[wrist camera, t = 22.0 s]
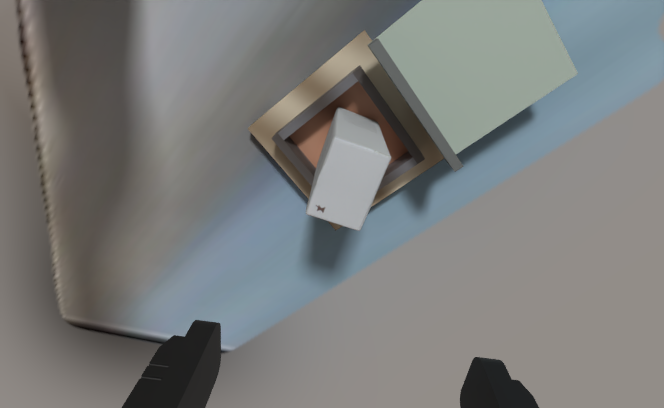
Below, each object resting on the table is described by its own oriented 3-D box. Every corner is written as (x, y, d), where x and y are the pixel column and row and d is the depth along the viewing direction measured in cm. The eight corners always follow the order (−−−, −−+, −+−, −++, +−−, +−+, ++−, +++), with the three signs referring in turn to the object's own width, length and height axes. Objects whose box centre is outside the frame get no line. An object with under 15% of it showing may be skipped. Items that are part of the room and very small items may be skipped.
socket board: (336, 224, 41) (334, 242, 38) (251, 125, 37) (240, 134, 34) (445, 150, 37) (455, 163, 34) (364, 30, 33) (365, 29, 29)
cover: (444, 158, 33) (454, 171, 30) (367, 45, 30) (369, 46, 27) (573, 72, 30) (601, 77, 27) (503, -68, 26) (525, -82, 23)
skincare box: (357, 176, 37) (359, 234, 26) (317, 162, 37) (302, 215, 26) (380, 119, 35) (393, 157, 24) (337, 103, 34) (331, 135, 23)
